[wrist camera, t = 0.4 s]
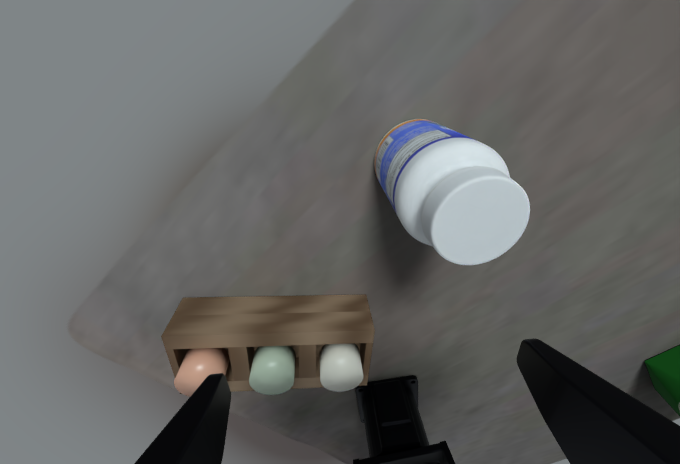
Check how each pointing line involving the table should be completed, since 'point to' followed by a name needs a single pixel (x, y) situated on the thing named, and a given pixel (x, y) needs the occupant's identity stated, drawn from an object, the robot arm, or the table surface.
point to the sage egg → (273, 369)
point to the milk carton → (666, 376)
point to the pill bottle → (451, 191)
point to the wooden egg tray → (270, 331)
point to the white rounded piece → (340, 367)
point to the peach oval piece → (200, 368)
